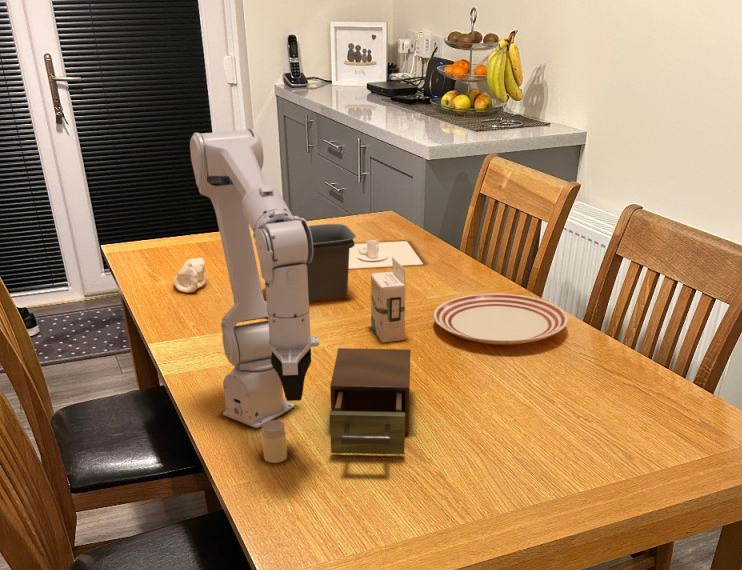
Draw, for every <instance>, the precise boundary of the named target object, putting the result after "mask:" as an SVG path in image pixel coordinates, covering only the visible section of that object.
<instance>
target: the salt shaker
mask: <svg viewBox="0 0 742 570" xmlns="http://www.w3.org/2000/svg"><path fill="white" fill-rule="evenodd" d="M261 443H262V444H261V445H262V452H263V453H262V454H263V459H264V460H265V462H267V463H272V464H276V463H278V464H279V463H281V462H284V461H285V460H287V458H288V445H287V432H286V428H285V423H284V422H283V421H281V420H278V419H277V420H276V419H273V420H271V421H267V422H265V423H263V424H262V426H261Z"/></svg>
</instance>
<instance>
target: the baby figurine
mask: <svg viewBox="0 0 742 570" xmlns="http://www.w3.org/2000/svg"><path fill="white" fill-rule="evenodd" d="M172 280H173V285H174V287H175V288H176V289H177V290H178V291H179V292H180V293H187V294H190V293H191V294H192V293H194V292H195V291H197V290H198V289H200V288H202V287H204V286H205V284H206V282H207V273H206V262H205V259H204V257H201V256H199V257H197V258H196V257H195V258H194V257H193V258H189V259H187V260H186V261H185V262H184V264H183V265H182V266H181V268H180V270H179V271H178V273H177V274H176V275H175V276H174V277H173V279H172Z"/></svg>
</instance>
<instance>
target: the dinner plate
mask: <svg viewBox="0 0 742 570" xmlns="http://www.w3.org/2000/svg"><path fill="white" fill-rule="evenodd" d="M433 320H434V322H435V323H436V324H437V325H438V326H439V327H440V328H442V329H443V330H445V331H447V332H448V333H450V334H452V335H454V336H457V337H458V338H463V339H465V340H468V341H473V342H476V343H480V344H486V345H492V346H512V345H522V344H528V343H533V342H537V341H542V340H544V339H545V340H546V339H547V338H550V337H552V336H554V335H556V334H558V333H560V332H561V331H562V330H564V329H565V327H567V325H568V323H569V316H568V314H567V313H566V311H565V310H563V309H562V308H561V307H560V306H558V305H556V304H555V303H552V302H550V301H546V300H544V299H540V298H537V297H533V296H528V295H522V294H514V293H501V292H499V293H498V292H497V293H495V292H492V293H491V292H489V293H477V294H468V295H464V296H459V297H455V298H452V299H449V300H447V301H444V302H443V303H441V304H439V305H438V306H437V307H436V308H435V309H434V311H433Z"/></svg>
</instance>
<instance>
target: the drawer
mask: <svg viewBox="0 0 742 570" xmlns="http://www.w3.org/2000/svg"><path fill="white" fill-rule="evenodd" d="M329 435H330V453H331V454H360V455H361V454H362V455H405V445H406V444H405V443H406V442H405V441H406V437H405V436H406V434H405V412H402V391H379V390H338V396H337V401H336V406H335V411H331V410H330V411H329Z"/></svg>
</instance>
